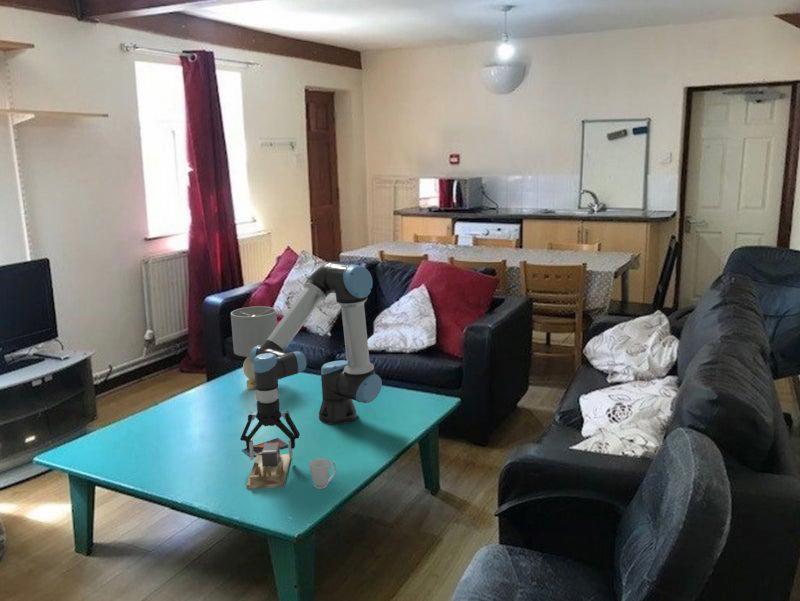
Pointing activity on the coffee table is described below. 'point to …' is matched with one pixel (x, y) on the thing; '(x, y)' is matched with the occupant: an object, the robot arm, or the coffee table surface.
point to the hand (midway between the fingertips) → (271, 457)
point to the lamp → (251, 334)
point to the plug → (270, 454)
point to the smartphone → (259, 447)
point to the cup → (321, 472)
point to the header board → (269, 473)
